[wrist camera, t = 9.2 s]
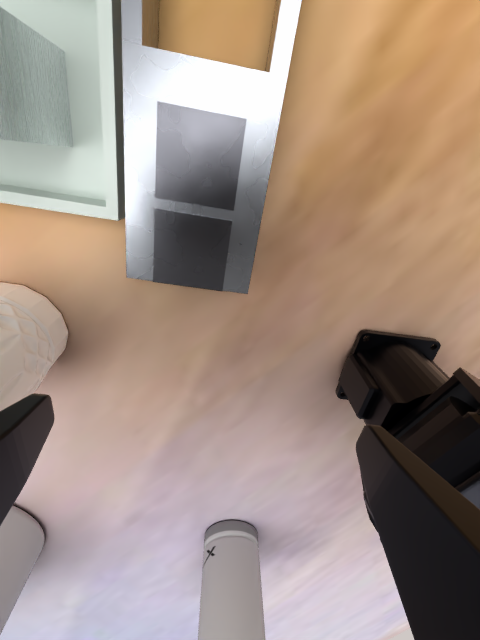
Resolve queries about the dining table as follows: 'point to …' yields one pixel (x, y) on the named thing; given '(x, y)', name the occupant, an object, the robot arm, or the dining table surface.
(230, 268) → the rail
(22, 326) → the white cup
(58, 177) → the parts tray
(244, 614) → the travel mug
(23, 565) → the cylinder vase
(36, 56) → the brushed aluminium bar
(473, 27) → the dining table surface
